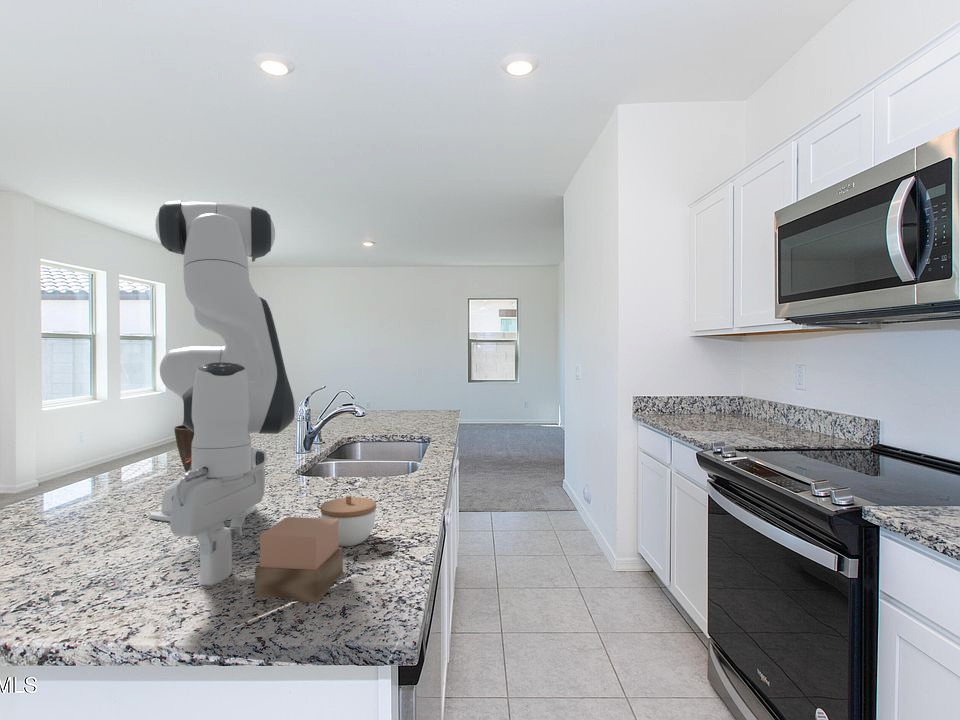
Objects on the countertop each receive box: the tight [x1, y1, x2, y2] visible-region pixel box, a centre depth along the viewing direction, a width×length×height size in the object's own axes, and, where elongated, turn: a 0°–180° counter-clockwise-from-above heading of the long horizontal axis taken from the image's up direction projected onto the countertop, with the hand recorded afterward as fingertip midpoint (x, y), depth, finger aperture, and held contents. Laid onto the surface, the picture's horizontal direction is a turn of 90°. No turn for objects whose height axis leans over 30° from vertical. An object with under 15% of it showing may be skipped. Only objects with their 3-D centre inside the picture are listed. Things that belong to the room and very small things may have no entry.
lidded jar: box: [320, 495, 377, 547], centre depth 105 cm, size 11×11×9 cm
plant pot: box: [173, 424, 194, 473], centre depth 158 cm, size 15×15×16 cm
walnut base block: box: [254, 547, 344, 604], centre depth 86 cm, size 10×10×5 cm
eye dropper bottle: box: [199, 521, 233, 586], centre depth 88 cm, size 4×6×12 cm
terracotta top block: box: [259, 516, 339, 570], centre depth 86 cm, size 9×9×5 cm
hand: (221, 545), depth 88 cm, fingers open, 6 cm apart
